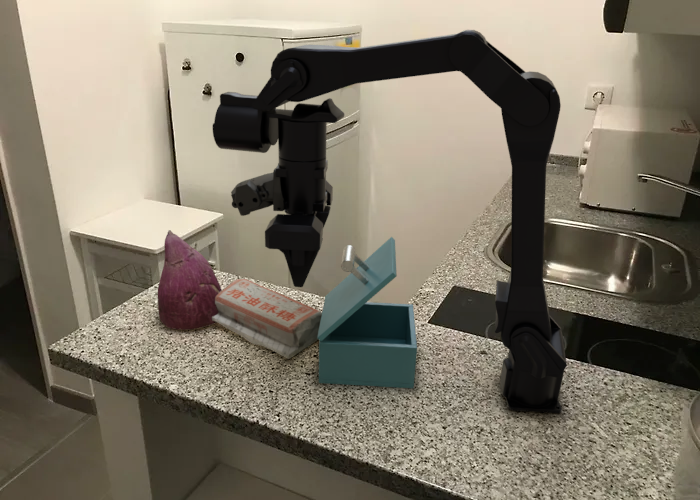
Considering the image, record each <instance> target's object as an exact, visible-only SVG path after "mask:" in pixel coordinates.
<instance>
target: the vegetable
mask: <svg viewBox="0 0 700 500" xmlns="http://www.w3.org/2000/svg"><path fill="white" fill-rule="evenodd" d="M222 290H223V289H222V287H221V285H220V283H219V280H218V277H217V276H216V274H215V272H214V269H213V268H212V266H211V264H210V262H209V261H208V260H207V258H206V257H204V255H203V254H202V253H200V252H199V251H198V250H196V249H195V248H194V247H192V245H190V244H189V243H188V242H187V241H185V240H183V238H181V237H180V236H179V235H178V234H175V233H173V231H172V230H169V229H168V230H167V234H166V236H165V239H164V261H163V267H162V271H161V275H160V278H159V282H158V287H157V308H158V309H157V310H158V317H159V321H160V322H161V323H162V324H163V325H164V326H165V327H166V328H168V329H173V330H187V331H189V330H197V329H201V328H205V327H209V326H212V325H214V324H216V323H217V322H215V321H213V320H212V317H213V316H215V315H217V314H218V313H219V311H218V309H217V306H216V304H215V297H216V295H217V294H218V293H219V292H220V291H222Z"/></svg>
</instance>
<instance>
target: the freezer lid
mask: <svg viewBox="0 0 700 500" xmlns="http://www.w3.org/2000/svg"><path fill="white" fill-rule="evenodd" d="M356 250H357V249H356V247H355V246H353V245H350V244H348V245H346V246H344V247H343V250H342V257H341V264H340V268H341V269H342V271H343V272H346V273H349V274H348V275H347V276H346V277H345V278H343V279H342V280H341V281H340V282H339V283H337V285H336V286H335V287H334V288H332V289H331V290H330V291H329V292H328V293H327V294H326V295H324V301H323V306H322V311H321V312H322V316H321V321H320V326H319V331H318V337H317V338H318V341H322V340H323V339H324V338H326V337H327V336H328V335H329V334H330V333H331V332H333V331H334V330H335V329H336V328H337V327H338V326H340V325H341V324H342V323H343V322H344V321H345V320H346V319H348V318H349V317H350V316H351V315H352V314H353V313H355V312H356V311H357V310H358V309H359V308H360V307H362V306H363V305H364V304H365V303H366V302H370V300H371V299H372V298H373V297H375V295H377V294H378V293H380V291H381V290H383V289H384V288H385V287H386V286H387V285H389V284H390V283H391V282H392V281H393V280H394V279H395V278H396V277H397V276H398V275H397V255H396V254H397V253H396V239H395V238H394V237H393V236H391V237H390V238H388V239H387V240H386V241H385V242H384V243H383V244H382V245H381V246H380V247H378V248H377V249H376V250H375V251H374V252H372V254H371V255H369V256H368V257H367V258H366V259H365V260H363V258H361V257H360V256H359V255H358V254H357V253H356V252H357V251H356ZM355 263H356V264H357V265H358V266H357V267H356V266H355Z"/></svg>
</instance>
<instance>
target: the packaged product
mask: <svg viewBox="0 0 700 500" xmlns="http://www.w3.org/2000/svg"><path fill="white" fill-rule="evenodd" d="M221 290H222V291H220V292H219V293H218V294H217V295H216V297H215V304H216V306H217V309H218V311H219V313H218V314H217V315H215V316H213V317H212V320H213V321H215V322H216V323H218V324H220V325H221V326H223V327H224V328H226V329H227V330H230V331H231V332H233V333H235V334H237V335H238V336H240V337H242V338H244V340H246V341H248V342H249V343H251V344H253V345H257V346H261V347H264V348H266V349H269V350H271V351H273V352H275V353H276V354H278V355H280V356H282V357H284V358H285V359H287V360H289V359H291V358H292V357H295V355H297V354H299V353H300V352H303V350H305V349H306V348H308V347H310V346H311V345H312V344H314V343H315V342H317V341H319V339H318V338H317V337H318V331H319V326H320V321H321V316H322V311H321V310H318V309H316V308H314V307H312V306H310V305H307V304H305V303H302V302H301V301H298V300H295V299H293V298H291V297H289V296H287V295H284V294H281V293H279V292H278V291H275V290H272V289H270V288H268V287H265V286H263V285H260V284H259V283H256V282H253V281H252V280H250V279H247V278H236V279H234V280H232V281H230V283H229V284H227V286H226V287H225V288H223V289H221Z"/></svg>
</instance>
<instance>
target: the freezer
mask: <svg viewBox="0 0 700 500" xmlns="http://www.w3.org/2000/svg"><path fill="white" fill-rule="evenodd" d="M415 322H416V321H415V312H414V304H413V303H411V304H410V303H409V304H408V303H392V302H373V301H367V302H366V303H365V304H364V305H363V306H362V307H360V308H359V309H358V310H357V311H356V312H355V313H353V314H352V315H351V316H350V317H349V318H348V319H346V320H345V321H344V322H343V323H342V324H341V325H340V326H338V327H337V328H336V329H335V330H334V331H333V332H331V333H330V334H329V335H328V336H327V337H326V338H324V339H323V340H322V341H320V340H318V384H327V385H346V386H347V385H348V386H362V387H363V386H365V387H379V388H380V387H381V388H402V389H415V376H416V368H417V354H418V343H417V332H416V323H415Z"/></svg>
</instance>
